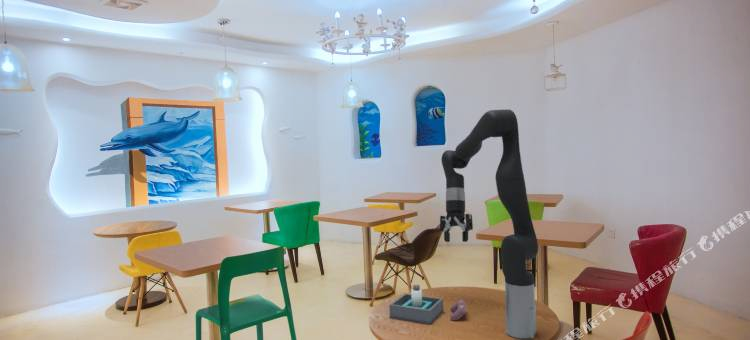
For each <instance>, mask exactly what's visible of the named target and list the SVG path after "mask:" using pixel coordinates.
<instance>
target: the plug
mask: <svg viewBox="0 0 750 340" xmlns="http://www.w3.org/2000/svg"><path fill="white" fill-rule="evenodd" d="M412 287H413V288H411V290H410V294H411V302H412V307H418V308H422V296H423V290H422V288H421V287H420V285H419V284H414V285H413V286H412Z"/></svg>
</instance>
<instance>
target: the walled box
mask: <svg viewBox="0 0 750 340" xmlns="http://www.w3.org/2000/svg"><path fill="white" fill-rule="evenodd" d="M388 306H389V319H393V320H400V321H406V322H413V323H417V324H425V325H429V326H430V325H431V324H433V323H434V322H435V321H436V319H437V318H439V317H440V315H442V314H443V313H444V311H445V310H444V298H442V297H441V298H440V297H436V296H435V297H434V296H426V295H422V308H418V307H412V302H411V293H404V294H402V295H401V296H400V297H398V298H397V299H395V300H394V301H393V302H391V303H390V304H389V305H388Z"/></svg>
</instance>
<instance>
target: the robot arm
mask: <svg viewBox="0 0 750 340" xmlns="http://www.w3.org/2000/svg"><path fill="white" fill-rule="evenodd" d="M519 133H520V132H519V124H518V118H517V115H516V114H515V112H514V111H513V110H512V109H506V108H505V109H492V110H487V111H486V112H484V114H483V115H482V116H481V117H480V118H479V120H478V121H477V123H476V124H475V126H474V127H473V128H472V129H471V132H470V133H469V134H468V135H467V136H466V137H465V138H464V139H463V140H462V141H461V142H460V143H459V144H458V145H456V148H455V150H452V149H451V150H450V149H449V150H445V151H444V152H442V155H441V160H440V161H441V165H442V169H443V171H444V172H443V173H444V175H445V179H446V180H445V181H446V183H445V185H446V187H445V189H446V190H445V212H446V215H440V217H439V231H441V232H443V239H444V242H445V243H450V242H451V233H450V232H451V230H452V229H453V228H454V227H459V228H461V230H462V232H461V233H462V235H461V237H462V242H463V243H464V242H465V243H467V242H468V241H469V231H471V230H473V229H474V227H473V226H474V225H473V215H472V214H471V213H466V214H465V212H466V192H465V177H464V175H463V174H461V173H458V172H456V170H455V169H457V170H462V169H465V168H467V167H468V164H469V163H470V161H471V159H472V158H473V157H474V156H476V155H477V154H478V153H479V152H480V151H481V150H482V147H483V142H484V141H485V140H487V139H489V138H501V141H502V148H503V149H502V155H501V158H500V161H499V164H498V166H497V169H496V172H495V185H496V191H497V196H498V198H499V200H500V202H501V204H502V205H503V207H504V208H505V210H506V211H507V213H508V214H509V216H510V219H511V222H512V225H513V226H512V229H513V234H509V235H506V236H505V237H504V238H503V239H502V241H501V245H500V257H501V258H500V259H501V261H500V262H501V270H502V271H501V272H502V273H503V277H504V296H505V298H504V299H505V301H504V302H505V305H504V306H505V333H506V334H507V335H508V336H510V337H513V338H517V339H525V340H526V339H532V340H533V339H535V336H536V333H537V305H536V303H535V276H534V274H533V273H532V272H531V271H527V264H526V262H527V261H530V260H533V259H534V258H536V257H537V255H538V252H539V243H538V238H537V234H536V231H535V228H534V224H533V220H532V217H531V211H530V206H529V200H528V195H527V188H526V182H525V181H526V180H525V175H524V170H523V165H522V164H523V163H522V156H521V152H520V151H521V150H520V135H519Z"/></svg>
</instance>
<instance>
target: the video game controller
mask: <svg viewBox="0 0 750 340" xmlns="http://www.w3.org/2000/svg"><path fill="white" fill-rule="evenodd" d="M466 305H467V301H466V300H464V299H459V300H457V302H456V303H455V304H453V305H452V306H451V307H450V309H449V310H450V312H451V313H452V314H450V319H449V320H451V321H459V319H462V318H463V316H464V315H466V314H467V312H468V311H467V307H466Z"/></svg>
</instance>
